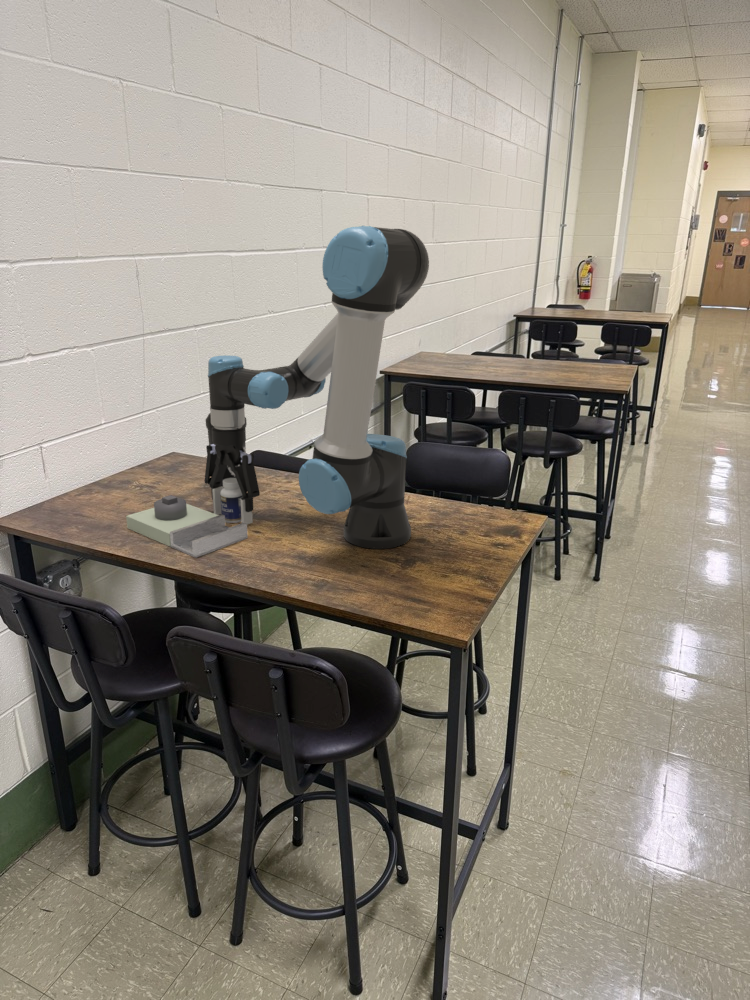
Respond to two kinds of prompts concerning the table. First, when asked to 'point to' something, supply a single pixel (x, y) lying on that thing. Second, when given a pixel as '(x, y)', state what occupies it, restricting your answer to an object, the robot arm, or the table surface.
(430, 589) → the table surface
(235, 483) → the pill bottle
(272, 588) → the table surface
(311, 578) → the table surface
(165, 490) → the table surface
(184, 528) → the grey metal channel
